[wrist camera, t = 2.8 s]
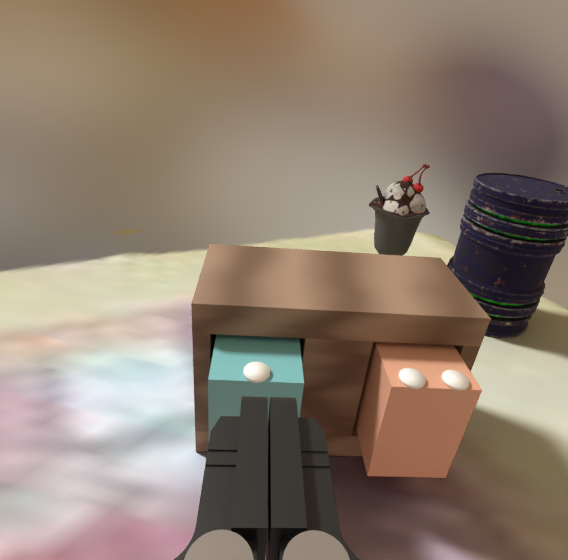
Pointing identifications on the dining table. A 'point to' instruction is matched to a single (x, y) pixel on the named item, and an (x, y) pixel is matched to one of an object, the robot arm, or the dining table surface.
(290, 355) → the grey-green piece
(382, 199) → the sundae
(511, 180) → the dark blue barrel
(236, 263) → the walnut console
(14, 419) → the dining table surface
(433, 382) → the terracotta button
